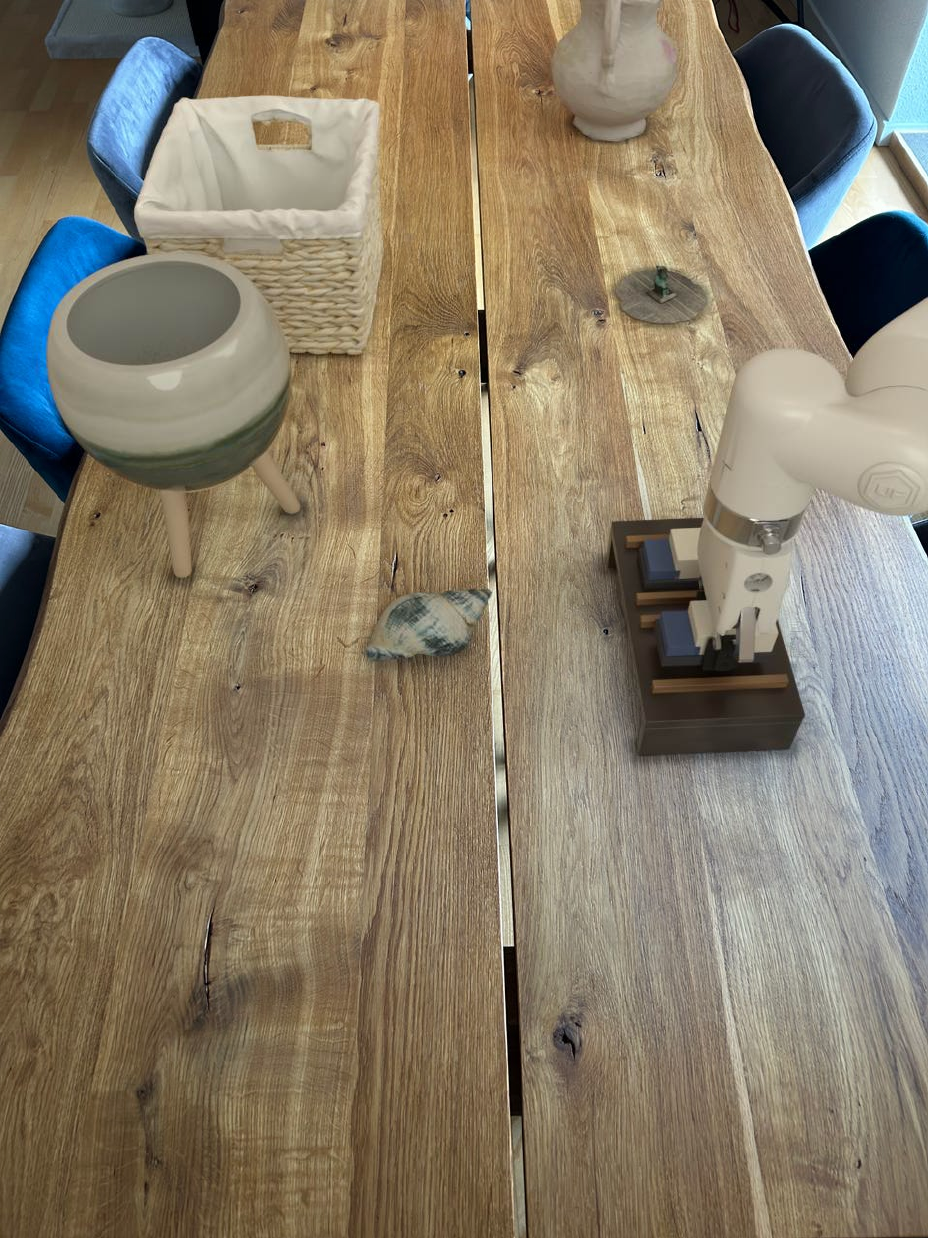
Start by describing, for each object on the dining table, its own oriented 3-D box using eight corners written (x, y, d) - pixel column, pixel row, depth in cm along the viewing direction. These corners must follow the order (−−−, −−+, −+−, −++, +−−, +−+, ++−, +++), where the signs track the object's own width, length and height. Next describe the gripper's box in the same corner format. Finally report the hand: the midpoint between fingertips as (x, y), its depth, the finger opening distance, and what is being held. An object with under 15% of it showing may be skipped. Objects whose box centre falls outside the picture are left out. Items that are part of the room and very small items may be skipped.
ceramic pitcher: (673, 166, 158) (714, -9, 139) (549, 160, 157) (572, -17, 138) (655, 100, 172) (689, -69, 152) (540, 94, 170) (560, -76, 151)
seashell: (376, 629, 105) (492, 636, 104) (362, 665, 98) (485, 674, 97) (374, 573, 102) (493, 580, 101) (359, 607, 95) (486, 615, 94)
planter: (147, 450, 120) (69, 237, 98) (332, 454, 119) (295, 240, 97) (95, 596, 107) (-9, 387, 84) (303, 602, 105) (253, 392, 83)
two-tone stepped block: (738, 551, 100) (746, 523, 97) (747, 586, 98) (756, 559, 95) (637, 555, 100) (642, 528, 97) (644, 590, 98) (649, 563, 94)
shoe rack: (736, 553, 108) (750, 508, 103) (789, 749, 94) (808, 709, 88) (606, 559, 108) (612, 514, 102) (638, 756, 93) (647, 716, 88)
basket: (379, 367, 128) (362, 208, 111) (170, 366, 129) (121, 208, 112) (395, 246, 145) (382, 90, 127) (209, 245, 146) (172, 91, 128)
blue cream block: (761, 622, 93) (771, 594, 90) (772, 662, 90) (783, 635, 87) (653, 626, 93) (659, 599, 90) (661, 666, 90) (667, 640, 87)
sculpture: (631, 264, 141) (674, 232, 135) (672, 314, 144) (716, 284, 138) (602, 307, 134) (646, 275, 128) (646, 359, 137) (691, 329, 131)
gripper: (833, 585, 72) (775, 721, 87) (779, 425, 82) (735, 570, 97) (728, 590, 72) (688, 724, 87) (687, 428, 82) (657, 573, 97)
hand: (713, 641), depth 92 cm, fingers closed on blue cream block, 4 cm apart
